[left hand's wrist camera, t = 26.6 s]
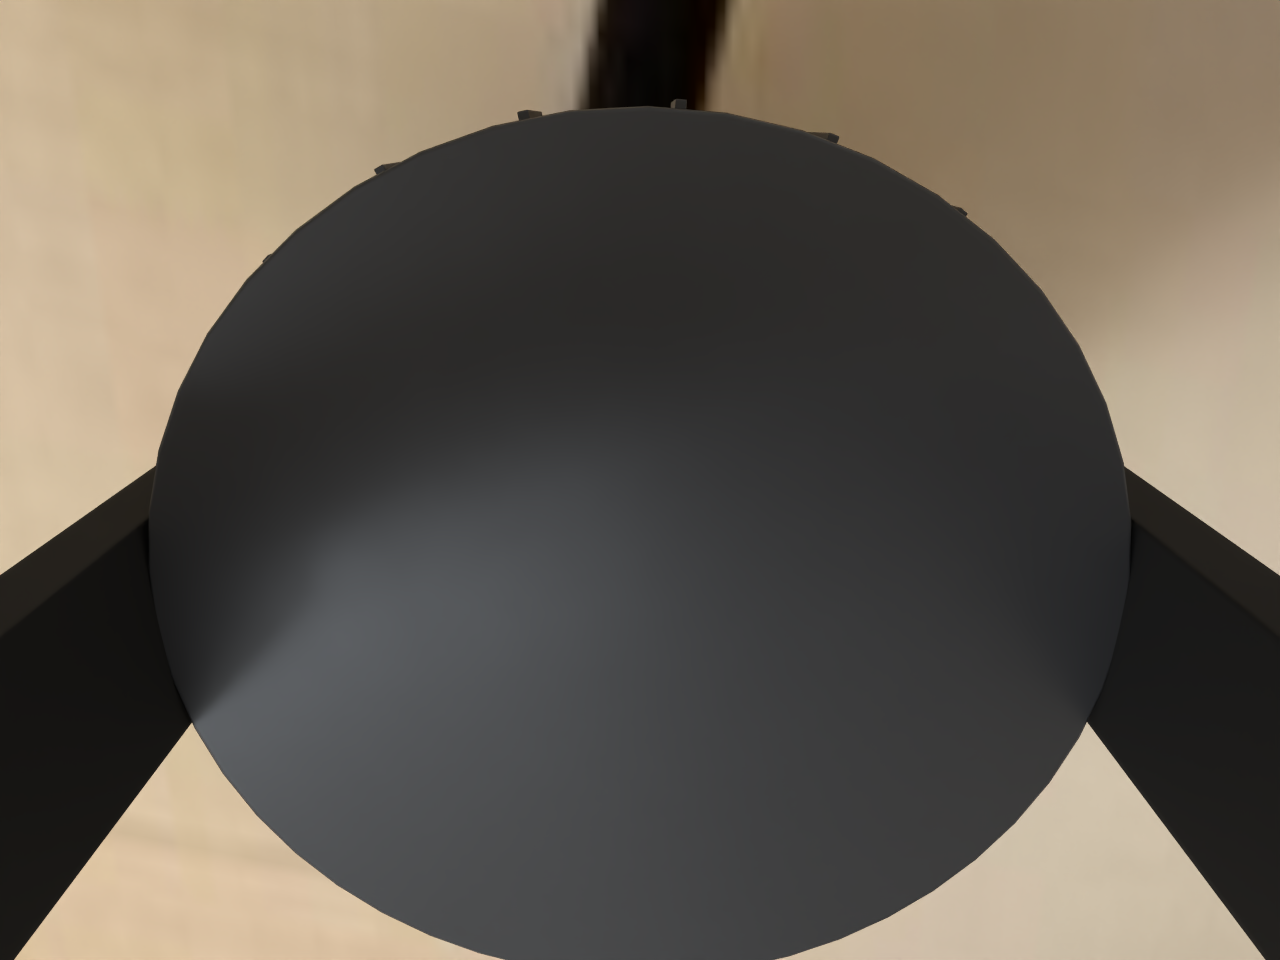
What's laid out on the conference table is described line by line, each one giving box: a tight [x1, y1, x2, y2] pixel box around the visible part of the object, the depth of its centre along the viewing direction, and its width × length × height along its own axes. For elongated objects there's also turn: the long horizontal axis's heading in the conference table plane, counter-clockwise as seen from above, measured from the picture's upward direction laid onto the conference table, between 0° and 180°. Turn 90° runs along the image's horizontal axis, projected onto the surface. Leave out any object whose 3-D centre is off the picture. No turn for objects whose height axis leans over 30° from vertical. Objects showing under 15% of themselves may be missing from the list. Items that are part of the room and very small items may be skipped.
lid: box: [148, 99, 1131, 960], centre depth 11 cm, size 11×11×2 cm
